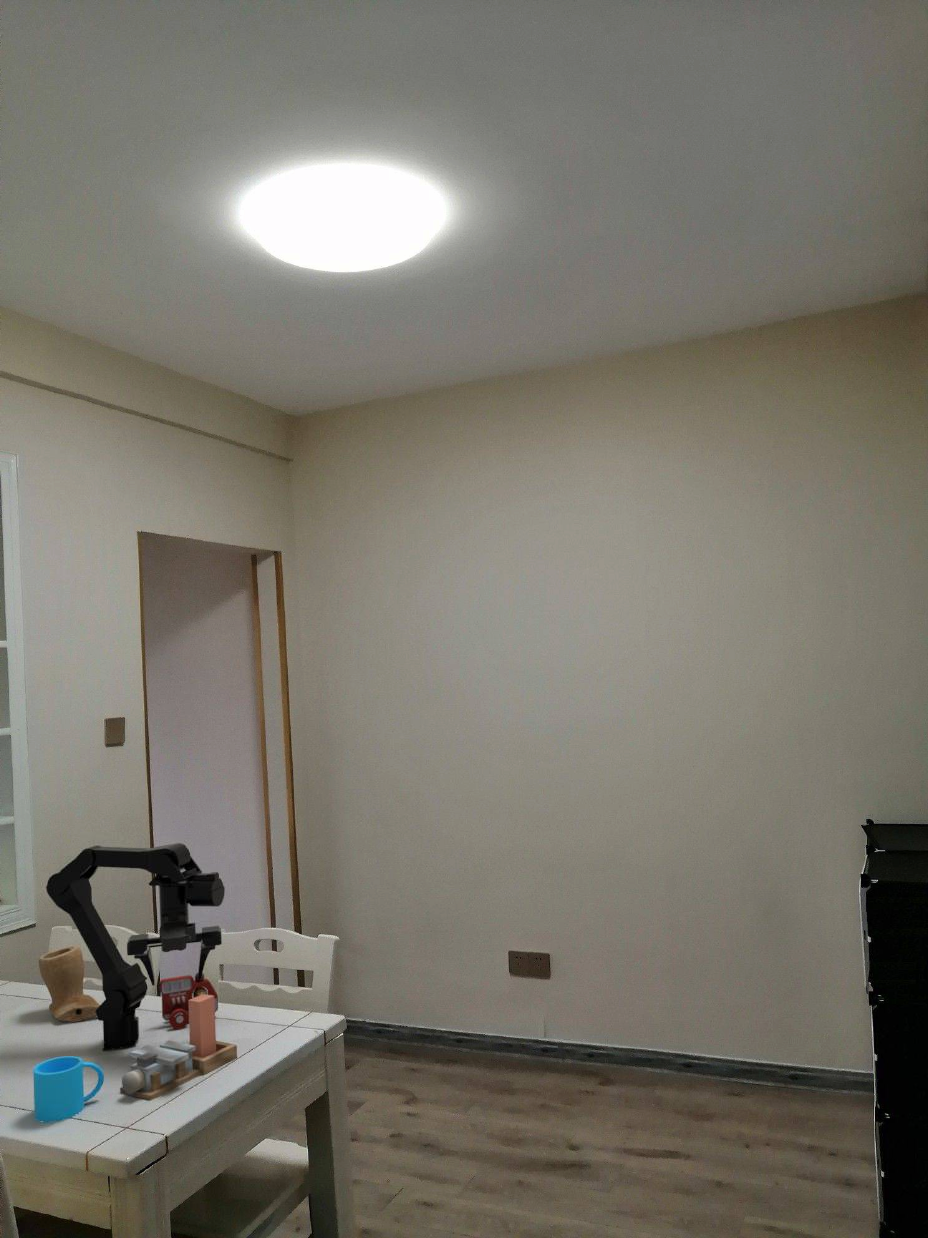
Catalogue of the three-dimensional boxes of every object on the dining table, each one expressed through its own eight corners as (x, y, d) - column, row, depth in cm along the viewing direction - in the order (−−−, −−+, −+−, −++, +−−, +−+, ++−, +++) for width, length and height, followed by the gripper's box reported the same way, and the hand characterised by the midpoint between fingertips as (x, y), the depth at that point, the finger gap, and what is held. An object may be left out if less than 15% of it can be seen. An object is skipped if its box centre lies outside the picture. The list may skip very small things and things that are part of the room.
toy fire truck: (221, 1022, 219) (219, 974, 220) (163, 1033, 214) (161, 984, 215) (215, 1012, 226) (213, 966, 226) (159, 1023, 221) (157, 975, 221)
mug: (41, 1127, 171) (39, 1079, 172) (29, 1111, 178) (28, 1065, 178) (111, 1106, 179) (110, 1059, 179) (97, 1091, 185) (96, 1047, 186)
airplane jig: (199, 1050, 203) (198, 1019, 204) (240, 1058, 198) (238, 1026, 198) (108, 1094, 184) (107, 1060, 184) (150, 1105, 178) (149, 1069, 178)
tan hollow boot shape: (36, 1012, 232) (35, 947, 233) (90, 1001, 238) (88, 937, 239) (47, 1031, 219) (45, 961, 220) (103, 1018, 225) (101, 951, 226)
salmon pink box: (190, 1065, 196) (188, 1000, 196) (205, 1057, 199) (203, 994, 200) (201, 1067, 194) (199, 1002, 195) (216, 1060, 198) (214, 996, 198)
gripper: (123, 920, 197) (126, 1000, 196) (220, 910, 202) (223, 988, 201) (128, 908, 208) (130, 983, 207) (219, 898, 213) (222, 972, 212)
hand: (176, 982), depth 207 cm, fingers open, 9 cm apart
